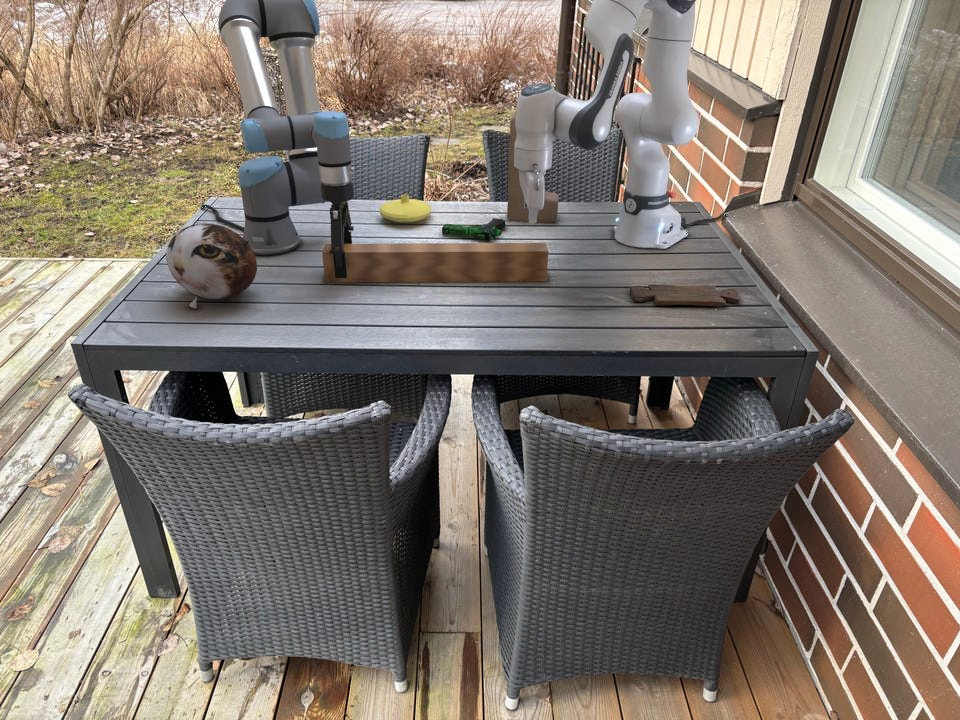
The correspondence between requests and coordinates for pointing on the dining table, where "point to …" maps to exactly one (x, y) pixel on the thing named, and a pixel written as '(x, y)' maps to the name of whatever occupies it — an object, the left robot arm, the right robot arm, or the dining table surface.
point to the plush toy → (211, 261)
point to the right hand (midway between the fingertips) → (530, 216)
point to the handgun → (476, 230)
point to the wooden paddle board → (684, 295)
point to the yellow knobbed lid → (405, 210)
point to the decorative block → (516, 195)
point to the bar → (440, 262)
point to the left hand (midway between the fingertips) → (344, 266)
